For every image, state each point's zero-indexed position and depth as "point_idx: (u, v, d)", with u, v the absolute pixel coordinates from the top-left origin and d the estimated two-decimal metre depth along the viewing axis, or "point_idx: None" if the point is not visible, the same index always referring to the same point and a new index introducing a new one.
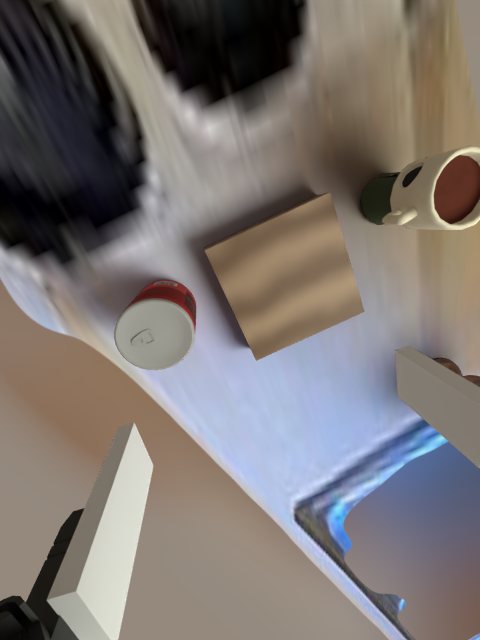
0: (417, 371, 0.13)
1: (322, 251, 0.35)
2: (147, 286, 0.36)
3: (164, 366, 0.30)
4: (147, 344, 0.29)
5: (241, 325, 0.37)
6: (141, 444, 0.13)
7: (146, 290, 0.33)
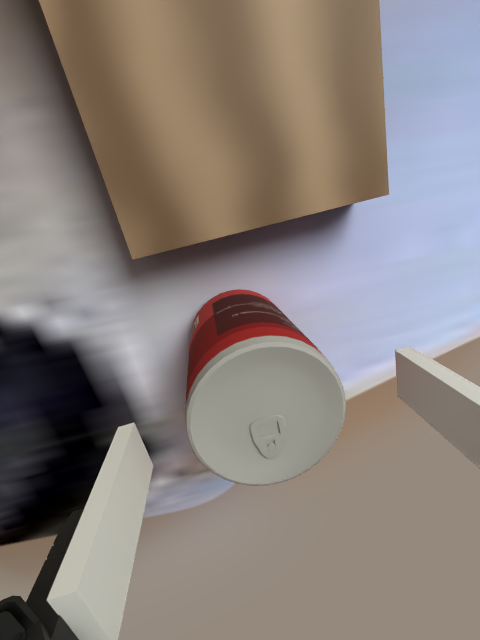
0: (417, 372, 0.13)
1: None
2: None
3: (340, 413, 0.14)
4: (283, 432, 0.14)
5: (302, 212, 0.17)
6: (141, 444, 0.13)
7: None
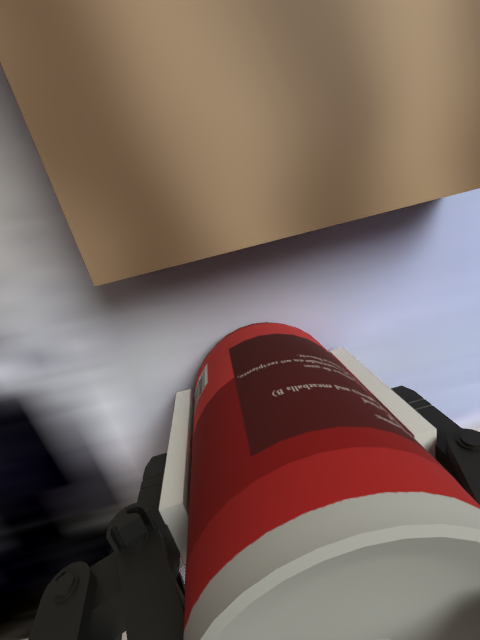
0: None
1: None
2: None
3: None
4: None
5: (390, 204, 0.10)
6: None
7: None
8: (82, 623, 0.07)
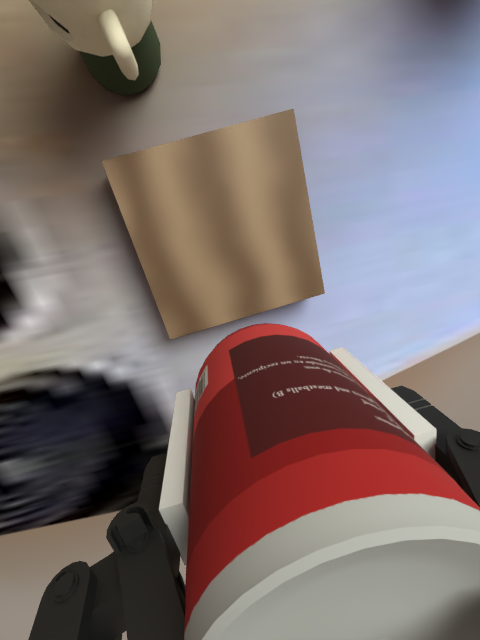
0: None
1: (186, 181, 0.24)
2: None
3: None
4: None
5: (271, 307, 0.28)
6: None
7: None
8: (82, 623, 0.07)
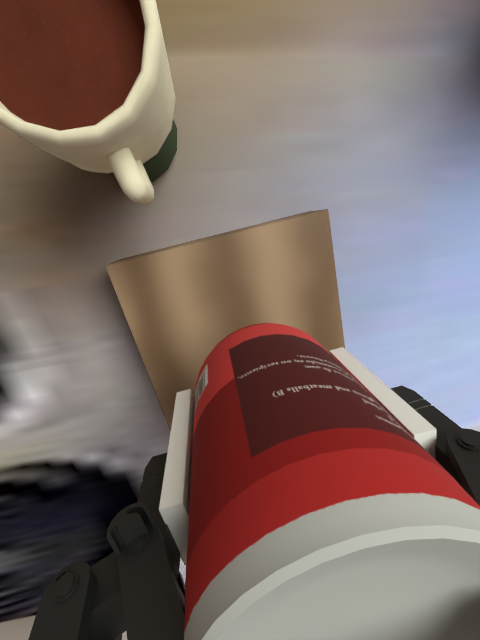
0: None
1: (202, 285, 0.21)
2: None
3: None
4: None
5: None
6: None
7: None
8: (82, 623, 0.07)
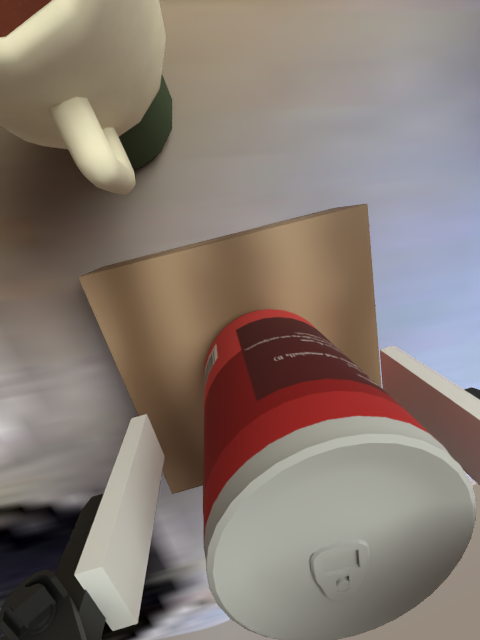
0: (399, 370, 0.13)
1: (204, 301, 0.16)
2: None
3: (464, 539, 0.08)
4: (363, 562, 0.08)
5: None
6: (153, 435, 0.14)
7: None
8: None
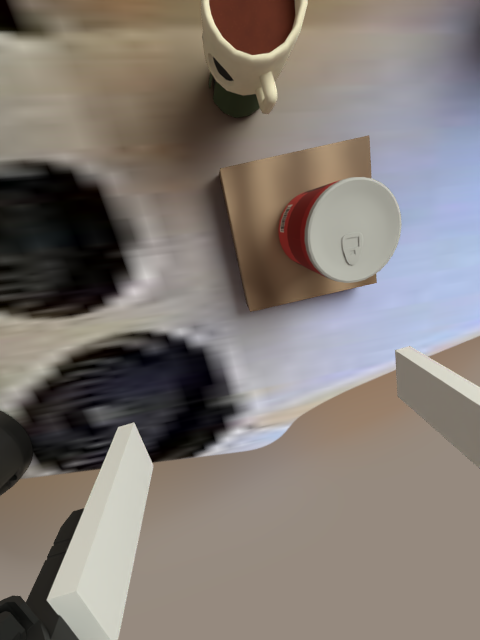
0: (417, 371, 0.13)
1: (280, 186, 0.31)
2: (281, 241, 0.31)
3: (397, 233, 0.22)
4: (360, 246, 0.23)
5: (332, 291, 0.35)
6: (141, 444, 0.13)
7: (289, 238, 0.27)
8: None
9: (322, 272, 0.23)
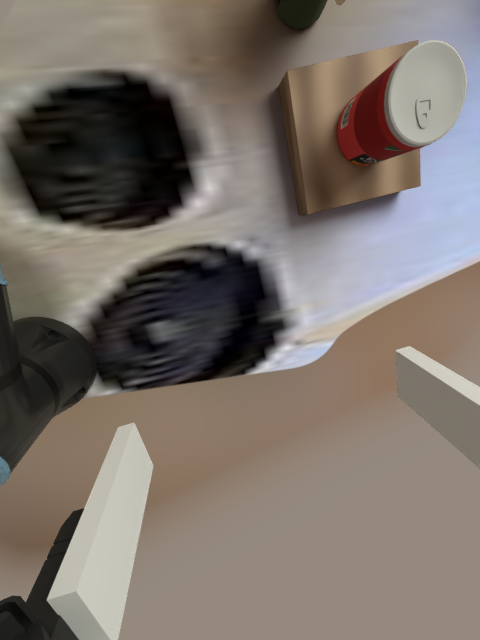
0: (417, 371, 0.13)
1: (339, 89, 0.34)
2: (342, 138, 0.34)
3: (463, 96, 0.26)
4: (431, 110, 0.26)
5: (381, 194, 0.39)
6: (141, 444, 0.13)
7: (356, 123, 0.31)
8: None
9: (398, 134, 0.27)
